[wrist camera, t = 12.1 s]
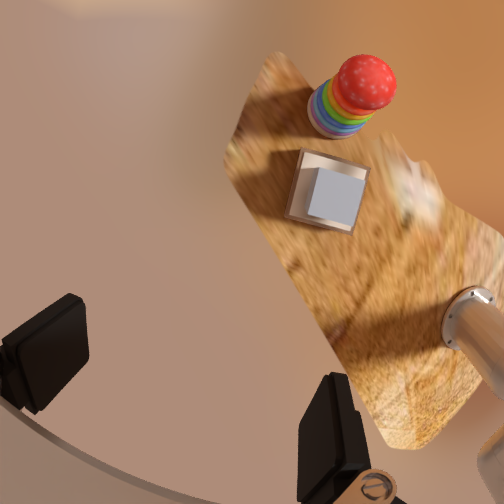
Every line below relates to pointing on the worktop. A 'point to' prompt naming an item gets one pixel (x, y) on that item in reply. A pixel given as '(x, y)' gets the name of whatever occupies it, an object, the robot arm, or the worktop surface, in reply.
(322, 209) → the grey block
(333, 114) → the stacking toy
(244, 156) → the worktop surface
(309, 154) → the walnut tray
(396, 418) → the worktop surface
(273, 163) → the worktop surface
